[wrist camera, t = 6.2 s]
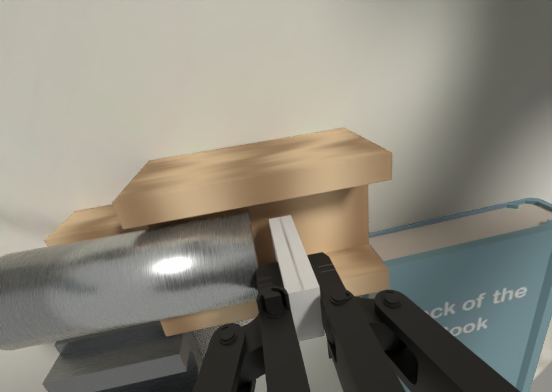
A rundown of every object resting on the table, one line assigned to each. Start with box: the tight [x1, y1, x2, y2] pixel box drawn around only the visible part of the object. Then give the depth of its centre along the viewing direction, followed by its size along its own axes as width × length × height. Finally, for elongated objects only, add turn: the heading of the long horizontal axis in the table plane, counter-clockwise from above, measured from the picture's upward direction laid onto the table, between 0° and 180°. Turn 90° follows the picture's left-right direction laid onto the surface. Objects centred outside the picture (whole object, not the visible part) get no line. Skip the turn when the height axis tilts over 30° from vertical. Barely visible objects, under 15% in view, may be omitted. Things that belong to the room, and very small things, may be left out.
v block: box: [43, 320, 203, 392], centre depth 25 cm, size 10×9×4 cm
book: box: [364, 198, 552, 392], centre depth 29 cm, size 23×16×5 cm
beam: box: [45, 128, 392, 337], centre depth 20 cm, size 20×9×7 cm, turn 98°
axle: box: [0, 211, 259, 350], centre depth 17 cm, size 13×5×5 cm, turn 97°
